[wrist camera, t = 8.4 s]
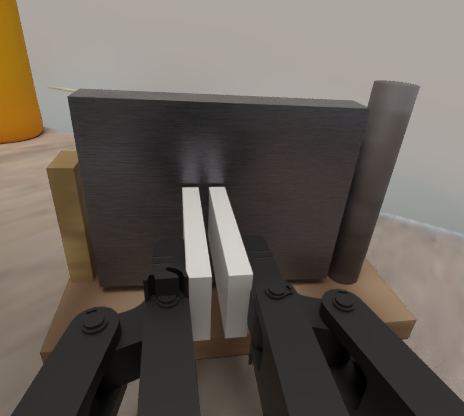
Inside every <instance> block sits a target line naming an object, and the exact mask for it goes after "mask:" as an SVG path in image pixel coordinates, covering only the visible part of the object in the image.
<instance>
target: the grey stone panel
mask: <svg viewBox="0 0 464 416" xmlns="http://www.w3.org/2000/svg"><path fill="white" fill-rule="evenodd" d="M68 102H69V108H70V114H71V120H72V126H73V132H74V138H75V144H76V150H77V155H78V161H79V167H80V173H81V179H82V185H83V191H84V197H85V203H86V208H87V214H88V220H89V226H90V232H91V238H92V244H93V250H94V256H95V261H96V267H97V273H98V279H99V285H100V287H112V286H139V285H143V279H144V276H145V274H146V273H147V272H149V271H150V270H151V265H152V254H153V247H154V246H155V245H156V244H157V242H158V241H159V240H177V239H183V197H182V187H198V188H199V195H200V201H201V208H202V215H203V221H204V228H205V234H206V241H207V247H208V254H209V261H210V267H211V274H212V283H216V280H215V274H214V268H213V262H212V256H211V250H210V244H209V238H208V210H209V187H225V189H226V193H227V196H228V199H229V202H230V205H231V208H232V211H233V214H234V217H235V220H236V223H237V226H238V229H239V232H240V235H241V236H255V235H259V236H260V237H261V238H263V239H264V240H265V241H266V242H267V244H268V246H269V248H270V252H271V253H272V255H273V258H274V260H275V262H276V264H277V266H278V269H279V271H280V273H281V276H282V278H283V280H298V279H324V278H327V274H328V270H329V266H330V263H331V259H332V255H333V251H334V247H335V243H336V240H337V236H338V232H339V228H340V224H341V220H342V217H343V213H344V209H345V205H346V201H347V197H348V194H349V190H350V186H351V182H352V178H353V174H354V171H355V167H356V163H357V159H358V155H359V152H360V148H361V144H362V140H363V136H364V132H365V129H366V125H367V121H368V117H369V113H370V108H368V107H366V106H364V105H361V104H359V103H357V102H355V101H349V100H348V101H347V100H326V99H324V100H323V99H302V98H280V97H258V96H257V97H256V96H234V95H212V94H209V95H208V94H189V93H188V94H187V93H166V92H142V91H119V90H95V89H79V90H77V91H75V92H74V93H72V94H71V95H69V96H68Z"/></svg>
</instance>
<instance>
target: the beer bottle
mask: <svg viewBox="0 0 464 416" xmlns="http://www.w3.org/2000/svg"><path fill="white" fill-rule="evenodd" d="M42 130H43V124H42V117H41V113H40V109H39V105H38V101H37V97H36V92H35V88H34V83H33V78H32V73H31V69H30V64H29V59H28V55H27V50H26V46H25V41H24V36H23V31H22V27H21V22H20V18H19V12H18V8H17V3H16V0H0V143H10V142H18V141H23V140H27V139H31V138H34V137H36V136H38V135H39V134H41V132H42Z"/></svg>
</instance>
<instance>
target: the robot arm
mask: <svg viewBox="0 0 464 416" xmlns="http://www.w3.org/2000/svg"><path fill="white" fill-rule="evenodd" d="M182 197H183V239H177V240H159V241H158V242H157V244H156V245H155V246H154V247H153V254H152V265H151V270H150V271H149V272H147V273H146V274H145V276H144V279H143V286H144V297H145V300H144V301H143V302H142V303H141V304H140V305H138V306H137V307H135V308H133V309H130V310H128V311H125V312H122V313H119V314H118V313H117V312H116V311H115V310H113V309H112V308H109V307H105V306H101V307H93V308H90V309H87V310H84V311H83V312H81V313H80V314H78V315H77V316H76V317H75V318H74V319H73V320H72V321H71V322H70V324H69V326H68V327H67V329H66V330H65V332H64V333H63V335H62V337H61V338H60V340H59V341H58V343H57V344H56V346H55V347H54V349H53V351H52V352H51V354H50V355H49V357H48V358H47V360H46V362H45V363H44V365H43V366H42V368H41V369H40V371H39V373H38V374H37V376H36V377H35V379H34V380H33V382H32V384H31V385H30V387H29V388H28V390H27V391H26V393H25V394H24V396H23V398H22V399H21V401H20V402H19V404H18V405H17V407H16V409H15V410H14V412H13V413H12V415H11V416H117V413H118V410H119V407H120V405H121V402H122V399H123V396H124V393H125V391H126V388H127V384H128V383H129V382H132V381H134V380H136V379H139V378H140V383H139V398H138V413H137V416H200V406H199V396H198V385H197V375H196V365H195V354H194V344H193V341H201V340H210V328H211V293H212V274H211V267H210V261H209V254H208V247H207V241H206V234H205V228H204V221H203V215H202V208H201V201H200V195H199V188H198V187H182ZM208 238H209V244H210V250H211V256H212V262H213V268H214V274H215V280H216V286H217V292H218V298H219V304H220V310H221V316H222V322H223V328H224V334H225V338H236V337H247V330H248V328H249V332H250V336H251V342H250V351H249V361H248V365H252V361H253V366H254V371H255V376H256V381H257V386H258V391H259V396H260V401H261V406H262V411H263V416H464V402H463V401H462V400H461V399H460V398H459V397H458V396H457V395H456V394H455V393H454V392H453V391H452V390H451V389H450V388H449V387H448V386H447V385H446V384H445V383H444V382H443V381H442V380H441V379H440V378H439V377H438V376H437V375H436V374H435V373H434V372H433V371H432V370H431V369H430V368H429V367H428V366H427V365H426V364H425V363H424V362H423V361H422V360H421V359H420V358H419V357H418V356H417V355H416V354H415V353H414V352H413V351H412V350H411V349H410V348H409V347H408V346H407V345H406V344H405V343H404V342H403V341H402V340H401V339H400V338H399V337H398V336H397V335H396V334H395V333H394V332H393V331H392V330H391V329H390V328H389V327H388V326H387V325H386V324H385V323H384V322H383V321H382V320H381V319H380V318H379V317H378V316H377V315H376V314H375V313H374V312H373V311H372V310H371V309H370V308H369V307H368V306H367V305H366V304H365V303H364V302H363V301H362V300H361V299H360V298H359V297H358V296H356V295H355V294H353V293H351V292H349V291H347V290H342V289H331V290H328V291H326V292H325V293H324V295H323V296H322V299H319V298H314V297H308V296H304V295H300V294H298V293H297V291H296V290H295V288H294V287H293V286H292V285H291V284H289V283H288V282H286V281H284V280H283V278H282V276H281V273H280V271H279V269H278V266H277V264H276V262H275V260H274V258H273V255H272V253H271V252H270V248H269V246H268V244H267V242H266V241H265V240H264V239H263V238H261V237H260V236H259V235H255V236H241V235H240V232H239V229H238V226H237V223H236V220H235V217H234V214H233V211H232V208H231V205H230V202H229V199H228V196H227V193H226V189H225V187H209V210H208Z"/></svg>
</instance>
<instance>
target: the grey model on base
mask: <svg viewBox="0 0 464 416" xmlns="http://www.w3.org/2000/svg"><path fill="white" fill-rule="evenodd" d="M419 88H420V86H418V85H414V84H409V83H403V82H395V81H374V84H373V88H372V92H371V96H370V100H369V103H368V108H370V113H369V117H368V121H367V125H366V129H365V132H364V136H363V140H362V144H361V148H360V152H359V155H358V159H357V163H356V167H355V171H354V174H353V178H352V182H351V186H350V190H349V194H348V197H347V201H346V205H345V209H344V213H343V217H342V220H341V224H340V228H339V232H338V236H337V240H336V243H335V247H334V251H333V255H332V259H331V263H330V266H329V270H328V274H327V278H324V279H298V280H284V281H286V282H288V283H289V284H291V285H292V286H293V287H294V288H295V290H296V291H297V293H298V294H300V295H304V296H308V297H314V298H319V299H322V296H323V295H324V293H325V292H326V291H328V290H331V289H342V290H347V291H349V292H351V293H353V294H355V295H356V296H358V297H359V298H360V299H361V300H362V301H363V302H364V303H365V304H366V305H367V306H368V307H369V308H370V309H371V310H372V311H373V312H374V313H375V314H376V315H377V316H378V317H379V318H380V319H381V320H382V321H383V322H384V323H385V324H386V325H387V326H388V327H389V328H390V329H391V330H392V331H393V332H394V333H395V334H396V335H397V336H398V337H399V338H400V339H408V337H409V335H410V333H411V331H412V329H413V327H414V325H415V323H416V320H417V319H416V318H415V317H414V316H413V314H412V313H411V312H410V311H409V310H408V308H407V307H406V306H405V305H404V304H403V302H402V301H401V300H400V299H399V298H398V296H397V295H396V294H395V293H394V292H393V290H392V289H391V288H390V287H389V285H388V284H387V283H386V282H385V281H384V279H383V278H382V277H381V276H380V275H379V273H378V272H377V271H376V270H375V269H374V267H373V266H372V265H371V264H370V262H369V261H368V260H367V259H366V258H365V256H366V253H367V250H368V247H369V244H370V240H371V237H372V234H373V231H374V228H375V225H376V222H377V219H378V216H379V212H380V209H381V206H382V203H383V200H384V197H385V194H386V191H387V187H388V184H389V181H390V178H391V175H392V172H393V169H394V166H395V163H396V159H397V156H398V153H399V150H400V147H401V144H402V141H403V138H404V135H405V132H406V128H407V125H408V122H409V119H410V116H411V113H412V110H413V106H414V104H415V100H416V97H417V94H418V91H419ZM46 170H47V174H48V179H49V183H50V188H51V192H52V197H53V201H54V206H55V210H56V215H57V219H58V224H59V228H60V233H61V237H62V242H63V246H64V251H65V255H66V260H67V264H68V269H69V273H70V279H69V281H68V284H67V286H66V289H65V291H64V294H63V296H62V299H61V301H60V304H59V306H58V309H57V311H56V314H55V316H54V319H53V321H52V324H51V326H50V329H49V331H48V334H47V336H46V339H45V341H44V344H43V346H42V349H41V351H40V355H41V358H42V361H43V364H44V363H45V362H46V360H47V358H48V357H49V355H50V354H51V352H52V351H53V349H54V347H55V346H56V344H57V343H58V341H59V340H60V338H61V337H62V335H63V333H64V332H65V330H66V329H67V327H68V326H69V324H70V322H71V321H72V320H73V319H74V318H75V317H76V316H77V315H78V314H80V313H81V312H83V311H84V310H87V309H90V308H93V307H101V306H105V307H109V308H112V309H113V310H115V311H116V312H117V313H118V314H119V313H122V312H125V311H128V310H130V309H133V308H135V307H137V306H138V305H140V304H141V303H142V302H143V301H144V300H145V297H144V286H143V285H139V286H112V287H100V285H99V279H98V273H97V267H96V261H95V256H94V250H93V244H92V238H91V232H90V226H89V220H88V214H87V208H86V203H85V197H84V191H83V185H82V179H81V173H80V167H79V161H78V155H77V151H61V152H60V153H59V154H58V155H57V156H56V158H55V159H54V160H53V161H52V162H51V163H50V164H49V166H48V167H47V168H46ZM250 342H251V336H250V332H249V328H248V330H247V337H236V338H225V334H224V328H223V322H222V316H221V310H220V304H219V298H218V292H217V286H216V283H212V293H211V328H210V340H201V341H193V344H194V354H195V359H203V358H214V357H224V356H234V355H244V354H249V351H250Z"/></svg>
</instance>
